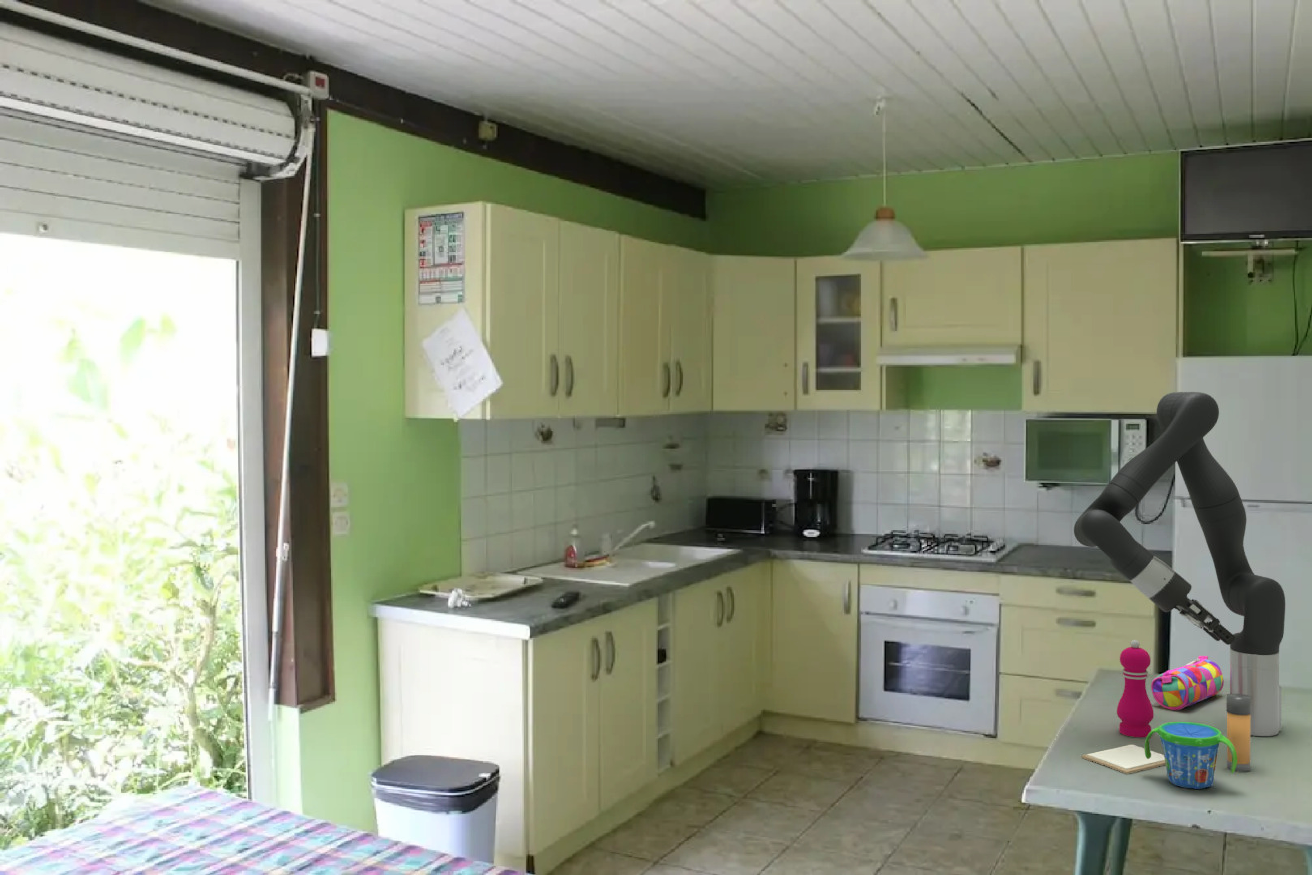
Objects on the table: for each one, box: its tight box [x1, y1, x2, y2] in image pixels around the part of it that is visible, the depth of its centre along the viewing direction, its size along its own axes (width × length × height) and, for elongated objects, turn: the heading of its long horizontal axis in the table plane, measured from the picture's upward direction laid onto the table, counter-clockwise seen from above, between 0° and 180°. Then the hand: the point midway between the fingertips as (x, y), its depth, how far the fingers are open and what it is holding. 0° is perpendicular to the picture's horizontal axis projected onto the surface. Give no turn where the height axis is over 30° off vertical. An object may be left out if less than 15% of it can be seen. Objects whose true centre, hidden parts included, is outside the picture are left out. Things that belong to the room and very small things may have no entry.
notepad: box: [1081, 743, 1166, 775], centre depth 222 cm, size 14×11×1 cm
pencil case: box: [1150, 655, 1225, 711], centre depth 261 cm, size 22×9×9 cm, turn 134°
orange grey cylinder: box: [1225, 693, 1251, 773], centre depth 215 cm, size 4×4×14 cm
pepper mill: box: [1116, 639, 1155, 738], centre depth 238 cm, size 7×7×20 cm
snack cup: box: [1143, 721, 1237, 790], centre depth 208 cm, size 16×10×10 cm
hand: (1226, 639), depth 223 cm, fingers open, 8 cm apart
